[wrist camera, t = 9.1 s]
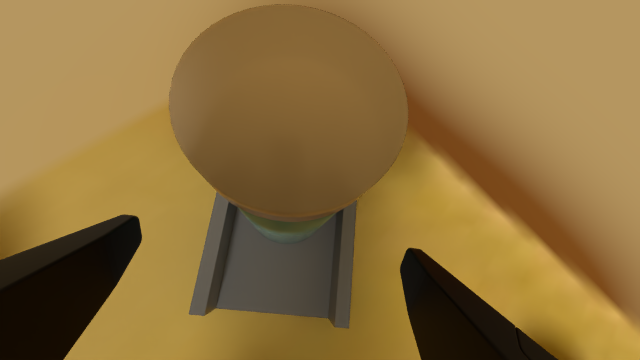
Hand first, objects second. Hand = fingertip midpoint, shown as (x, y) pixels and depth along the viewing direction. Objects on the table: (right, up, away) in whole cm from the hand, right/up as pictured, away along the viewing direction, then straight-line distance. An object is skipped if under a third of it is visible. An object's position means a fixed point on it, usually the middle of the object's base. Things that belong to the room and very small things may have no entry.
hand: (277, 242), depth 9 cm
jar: (-1, 0, +10) cm, 10 cm away
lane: (-1, 0, +10) cm, 10 cm away
